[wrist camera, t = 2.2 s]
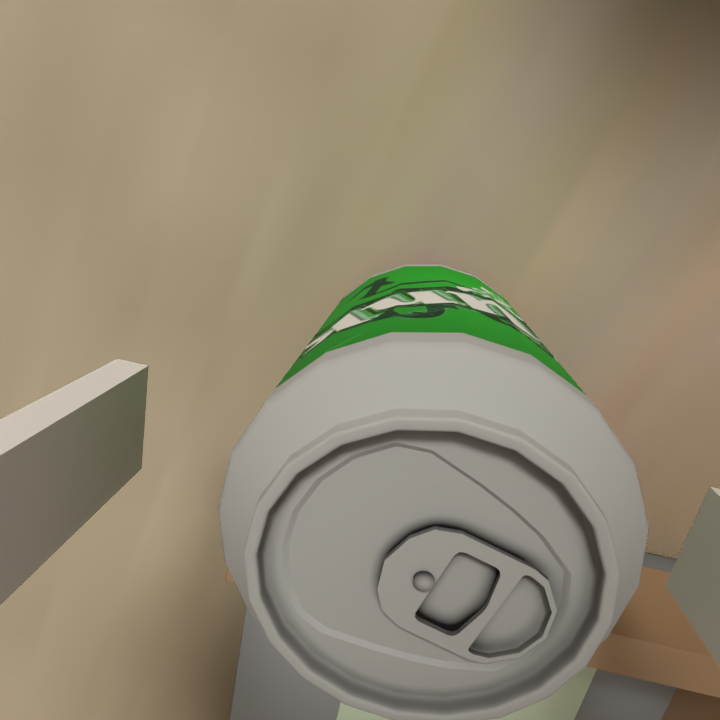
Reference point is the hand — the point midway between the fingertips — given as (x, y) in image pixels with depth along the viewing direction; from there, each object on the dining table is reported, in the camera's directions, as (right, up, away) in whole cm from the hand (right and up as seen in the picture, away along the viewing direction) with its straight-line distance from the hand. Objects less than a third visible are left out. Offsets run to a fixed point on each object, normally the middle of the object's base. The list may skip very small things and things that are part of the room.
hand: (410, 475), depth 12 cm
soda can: (+1, +3, +8) cm, 8 cm away
